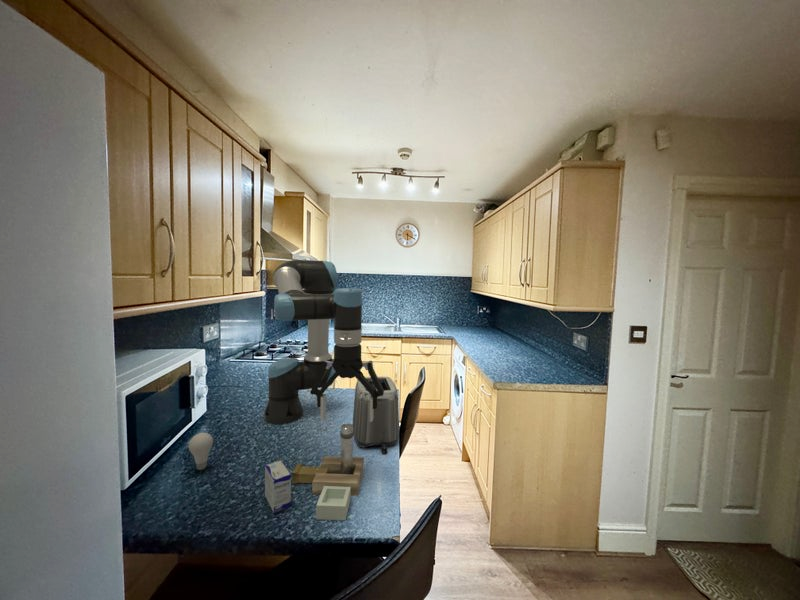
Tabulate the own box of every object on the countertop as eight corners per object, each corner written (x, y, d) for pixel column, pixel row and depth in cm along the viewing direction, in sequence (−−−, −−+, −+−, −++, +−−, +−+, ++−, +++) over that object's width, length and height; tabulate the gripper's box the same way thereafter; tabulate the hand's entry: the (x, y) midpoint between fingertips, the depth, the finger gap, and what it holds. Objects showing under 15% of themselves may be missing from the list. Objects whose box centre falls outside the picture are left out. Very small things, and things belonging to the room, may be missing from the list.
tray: (316, 519, 75) (316, 505, 74) (324, 498, 82) (324, 486, 81) (345, 520, 75) (345, 506, 74) (350, 499, 82) (350, 486, 81)
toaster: (392, 415, 132) (393, 371, 131) (404, 454, 103) (405, 398, 102) (352, 417, 130) (352, 372, 129) (352, 457, 101) (353, 400, 100)
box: (292, 506, 79) (291, 473, 78) (273, 514, 76) (273, 480, 76) (281, 489, 85) (281, 459, 84) (264, 496, 82) (264, 465, 82)
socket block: (357, 495, 83) (357, 483, 83) (312, 494, 83) (312, 481, 83) (363, 468, 95) (363, 457, 95) (324, 467, 95) (324, 456, 95)
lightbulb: (187, 478, 89) (186, 440, 88) (191, 466, 95) (190, 430, 94) (211, 473, 92) (211, 436, 91) (214, 461, 97) (214, 427, 96)
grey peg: (338, 485, 87) (338, 429, 86) (341, 476, 91) (341, 423, 90) (352, 485, 87) (352, 430, 86) (354, 477, 91) (354, 423, 90)
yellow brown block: (324, 484, 87) (325, 473, 87) (292, 483, 87) (292, 472, 87) (329, 474, 92) (329, 464, 91) (297, 473, 92) (297, 463, 92)
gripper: (298, 345, 83) (298, 423, 84) (392, 347, 82) (391, 426, 84) (307, 340, 90) (307, 412, 92) (393, 342, 90) (392, 414, 91)
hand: (347, 419), depth 88 cm, fingers open, 13 cm apart
